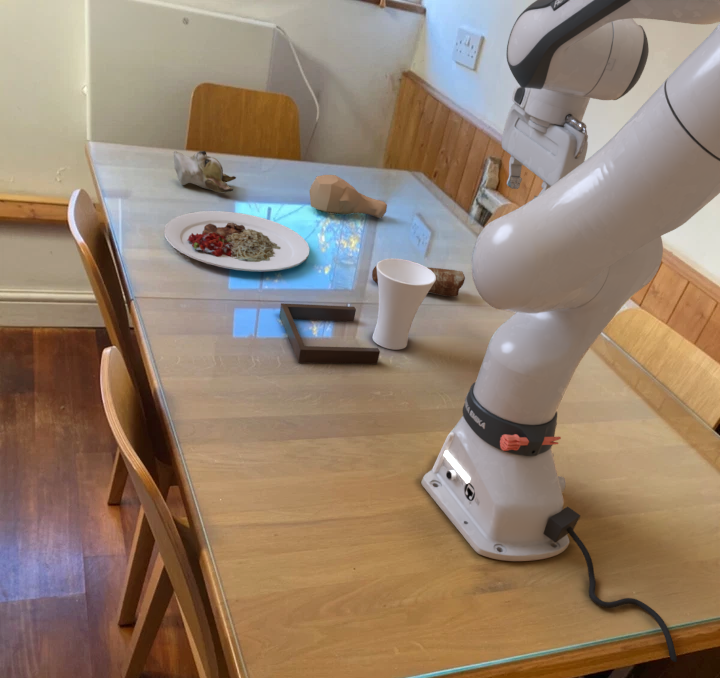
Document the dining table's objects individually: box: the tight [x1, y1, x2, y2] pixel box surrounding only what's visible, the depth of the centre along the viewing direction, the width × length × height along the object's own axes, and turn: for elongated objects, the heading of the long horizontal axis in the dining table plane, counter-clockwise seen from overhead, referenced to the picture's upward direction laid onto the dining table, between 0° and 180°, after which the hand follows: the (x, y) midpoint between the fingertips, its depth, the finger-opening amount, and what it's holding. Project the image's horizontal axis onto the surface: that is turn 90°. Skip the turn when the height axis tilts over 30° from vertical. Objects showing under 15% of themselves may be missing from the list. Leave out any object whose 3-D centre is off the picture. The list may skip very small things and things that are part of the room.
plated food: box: [164, 210, 310, 272], centre depth 147 cm, size 30×30×3 cm
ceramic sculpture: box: [173, 150, 237, 193], centre depth 169 cm, size 11×9×15 cm
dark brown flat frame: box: [279, 302, 381, 365], centre depth 123 cm, size 16×14×2 cm
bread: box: [371, 264, 466, 297], centre depth 147 cm, size 6×19×6 cm, turn 89°
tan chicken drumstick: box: [309, 174, 388, 219], centre depth 174 cm, size 11×20×9 cm, turn 104°
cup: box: [372, 258, 436, 351], centre depth 124 cm, size 10×10×14 cm
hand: (524, 198), depth 115 cm, fingers open, 8 cm apart
